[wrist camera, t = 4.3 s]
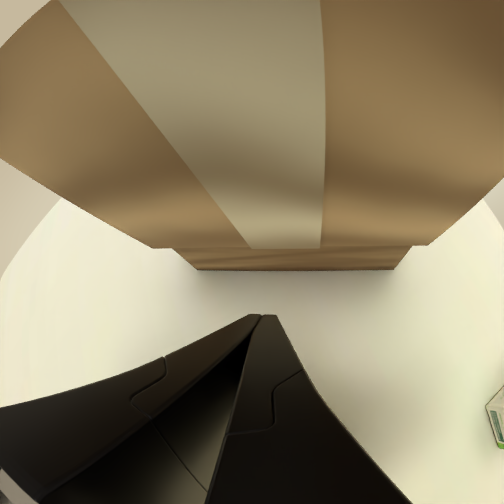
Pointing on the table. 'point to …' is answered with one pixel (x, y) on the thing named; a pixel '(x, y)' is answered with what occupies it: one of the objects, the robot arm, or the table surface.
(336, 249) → the brown wooden box base
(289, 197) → the lid
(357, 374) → the table surface
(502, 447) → the syrup box
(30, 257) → the table surface
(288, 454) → the robot arm
